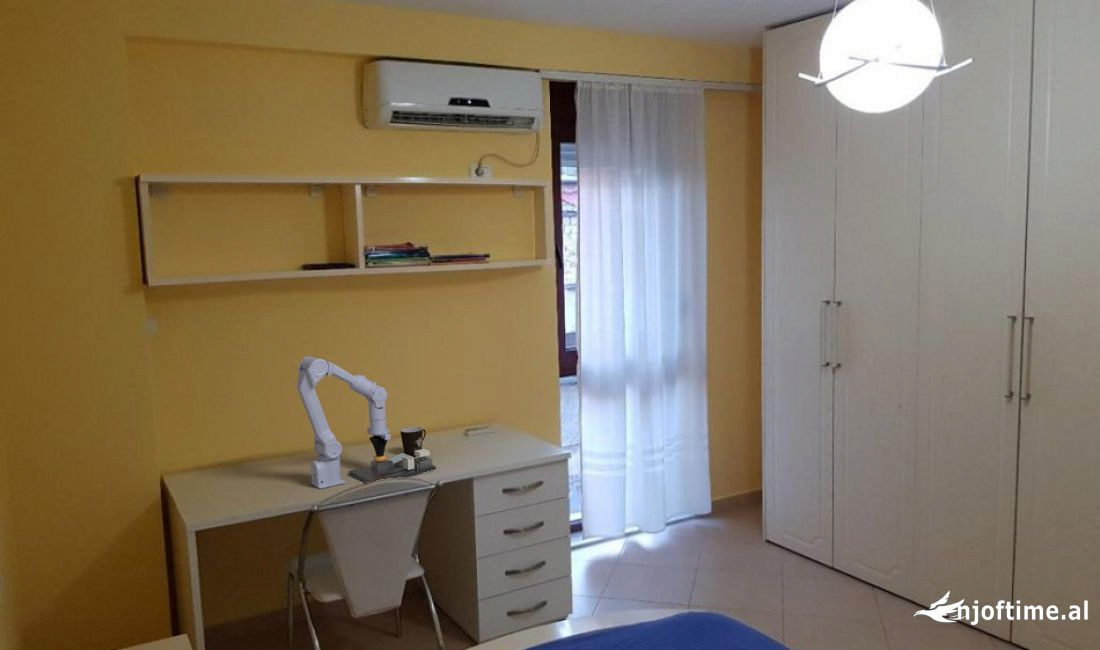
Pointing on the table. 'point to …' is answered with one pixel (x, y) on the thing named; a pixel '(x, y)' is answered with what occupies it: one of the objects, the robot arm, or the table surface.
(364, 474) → the panel
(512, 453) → the table surface
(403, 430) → the coffee mug
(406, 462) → the slider knob
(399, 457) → the rocker
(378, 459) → the round button
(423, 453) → the square button
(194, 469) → the table surface
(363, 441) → the table surface
